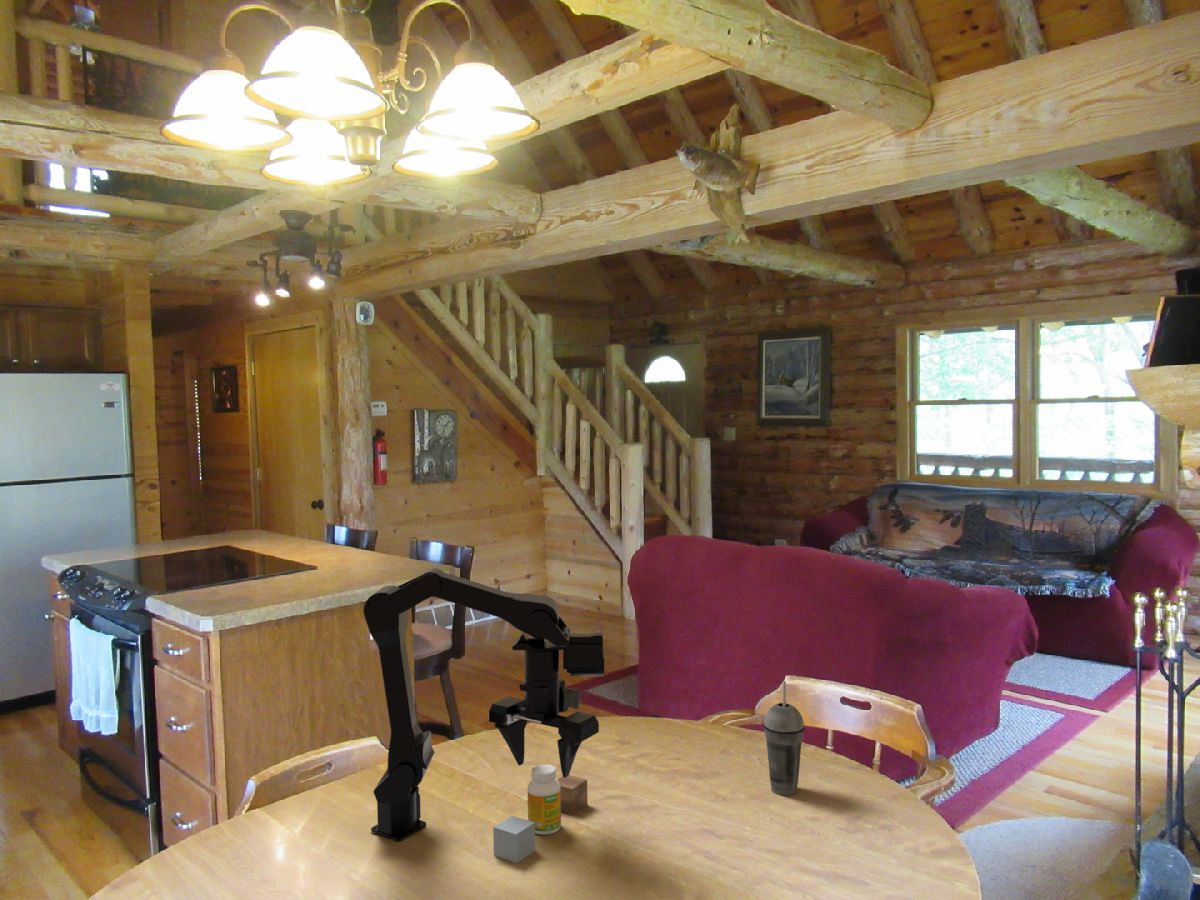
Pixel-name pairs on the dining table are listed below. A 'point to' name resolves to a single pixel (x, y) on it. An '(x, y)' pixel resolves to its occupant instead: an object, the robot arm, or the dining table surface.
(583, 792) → the pinkish brown block
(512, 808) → the dining table surface
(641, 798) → the dining table surface
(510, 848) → the slate block
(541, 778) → the supplement bottle
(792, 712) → the beverage cup
